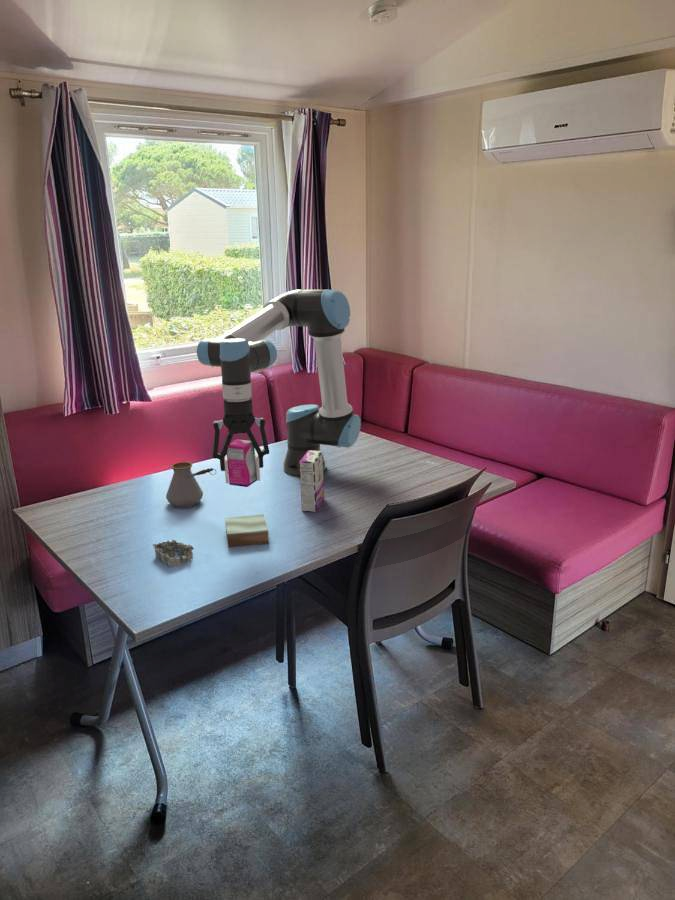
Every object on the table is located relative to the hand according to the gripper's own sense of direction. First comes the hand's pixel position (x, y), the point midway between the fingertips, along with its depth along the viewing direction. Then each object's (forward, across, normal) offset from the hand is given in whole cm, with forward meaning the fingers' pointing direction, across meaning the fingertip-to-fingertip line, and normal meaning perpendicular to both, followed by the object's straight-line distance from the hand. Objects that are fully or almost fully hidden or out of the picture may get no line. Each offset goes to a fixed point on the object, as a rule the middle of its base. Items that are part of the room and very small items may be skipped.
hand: (242, 480), depth 182 cm
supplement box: (+1, 0, 0) cm, 1 cm away
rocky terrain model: (+18, -20, -8) cm, 28 cm away
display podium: (+17, 0, 0) cm, 17 cm away
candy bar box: (+17, +22, +18) cm, 33 cm away
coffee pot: (+17, -14, +26) cm, 34 cm away
